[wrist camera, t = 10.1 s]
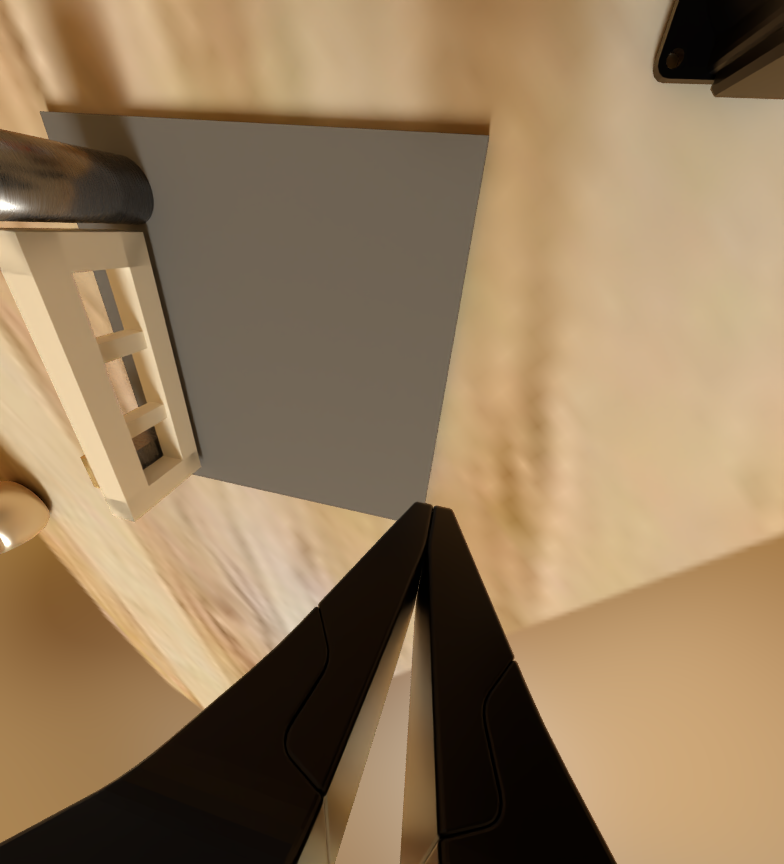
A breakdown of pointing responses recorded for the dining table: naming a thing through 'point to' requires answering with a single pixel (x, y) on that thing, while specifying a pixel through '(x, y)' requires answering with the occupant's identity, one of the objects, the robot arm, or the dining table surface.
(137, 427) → the gate
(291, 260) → the mat
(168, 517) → the dining table surface
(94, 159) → the hinge post
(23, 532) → the plastic bottle
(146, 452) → the post
